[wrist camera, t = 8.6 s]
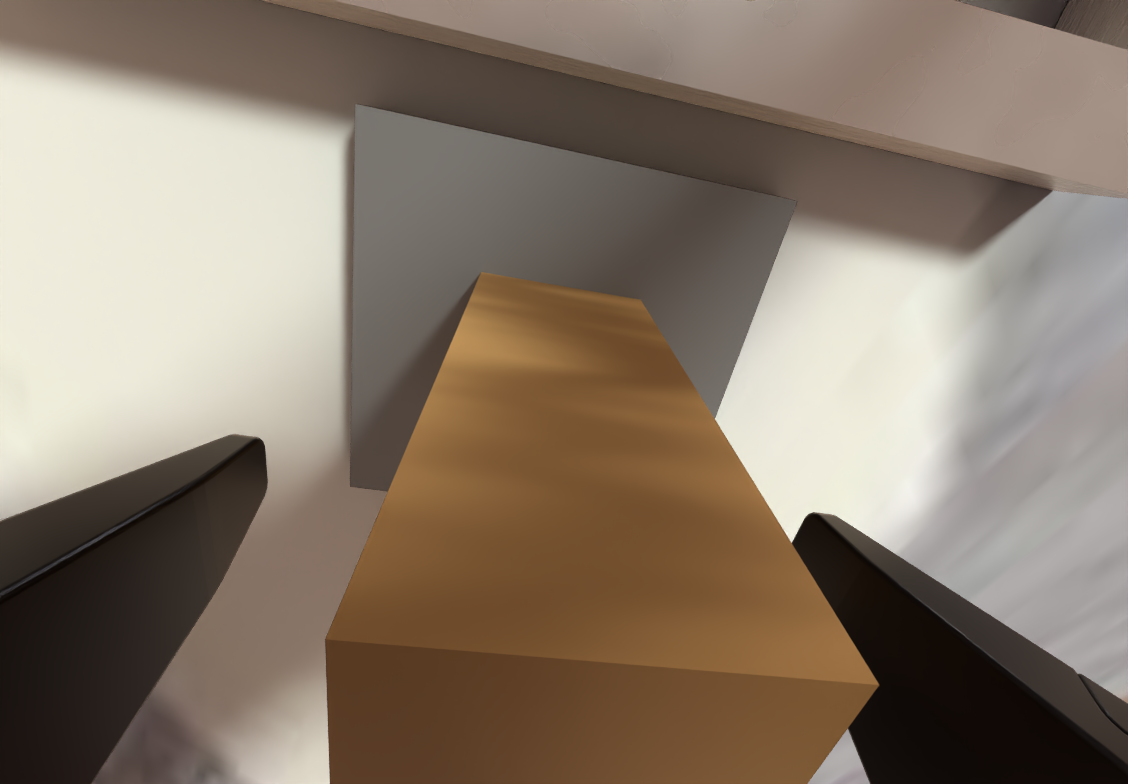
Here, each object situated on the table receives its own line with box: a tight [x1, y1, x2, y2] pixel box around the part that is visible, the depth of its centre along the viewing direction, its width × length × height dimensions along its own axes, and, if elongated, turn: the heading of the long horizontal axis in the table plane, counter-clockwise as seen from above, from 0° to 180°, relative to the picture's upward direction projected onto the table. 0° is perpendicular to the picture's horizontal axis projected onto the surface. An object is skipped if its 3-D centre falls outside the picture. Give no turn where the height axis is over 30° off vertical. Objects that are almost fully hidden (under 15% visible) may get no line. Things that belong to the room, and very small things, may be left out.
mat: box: [350, 104, 797, 491], centre depth 14 cm, size 10×10×1 cm
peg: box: [325, 272, 879, 784], centre depth 9 cm, size 4×4×10 cm
